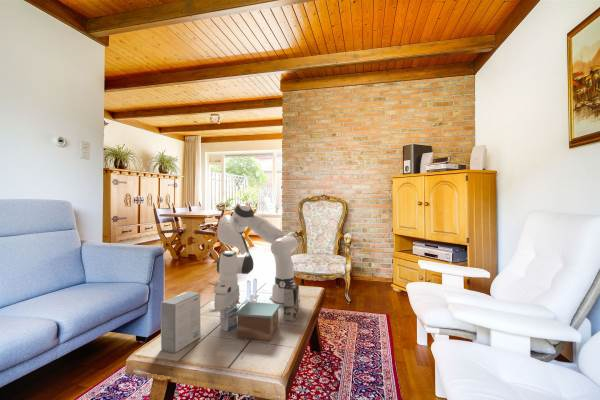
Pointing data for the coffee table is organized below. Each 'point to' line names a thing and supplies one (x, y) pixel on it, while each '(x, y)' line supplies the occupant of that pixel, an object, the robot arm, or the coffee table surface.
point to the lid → (258, 310)
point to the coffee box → (291, 302)
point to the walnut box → (257, 328)
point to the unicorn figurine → (216, 285)
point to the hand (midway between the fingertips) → (227, 313)
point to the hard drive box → (180, 321)
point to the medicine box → (229, 319)
